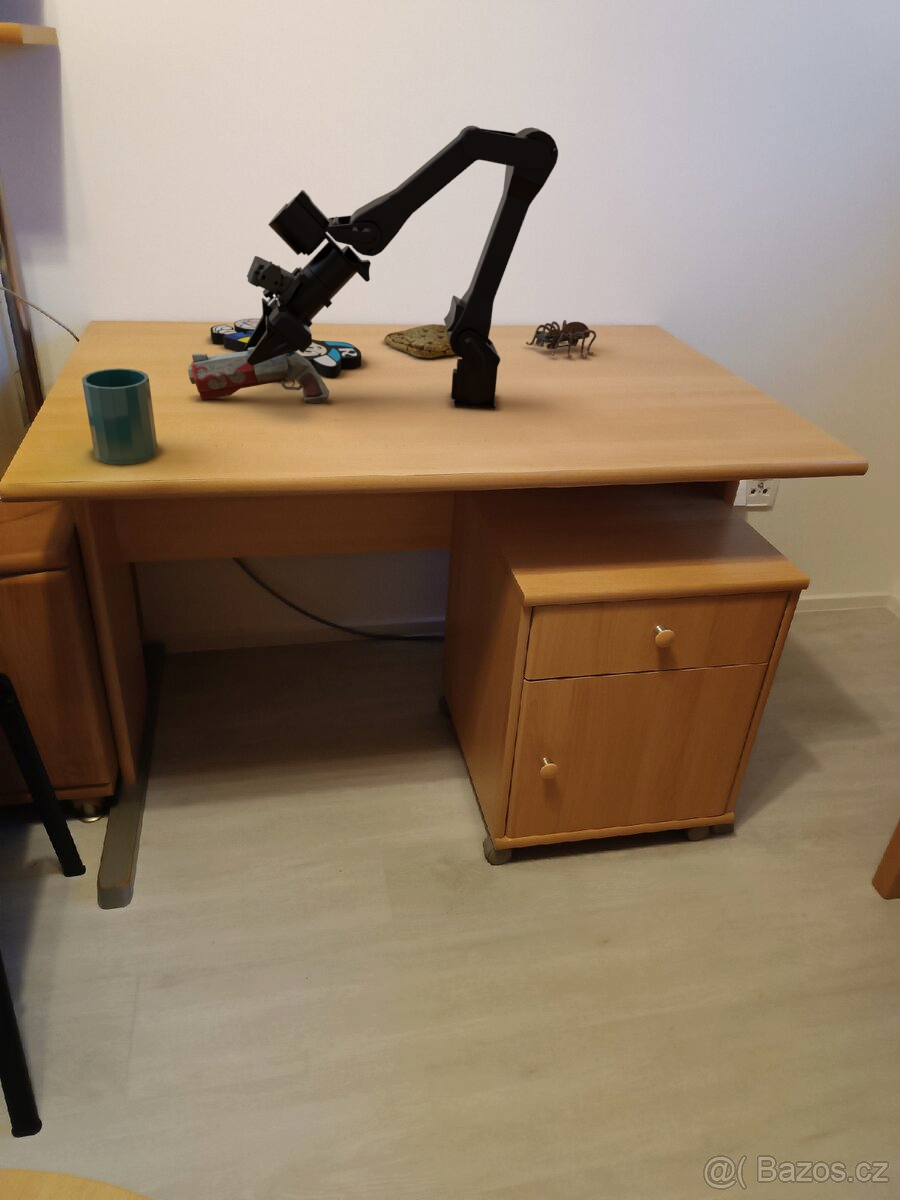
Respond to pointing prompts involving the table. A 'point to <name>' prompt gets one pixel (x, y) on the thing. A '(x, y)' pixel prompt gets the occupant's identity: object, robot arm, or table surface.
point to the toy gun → (254, 374)
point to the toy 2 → (563, 336)
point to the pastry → (421, 341)
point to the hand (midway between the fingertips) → (248, 356)
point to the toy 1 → (320, 353)
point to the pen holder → (120, 416)
